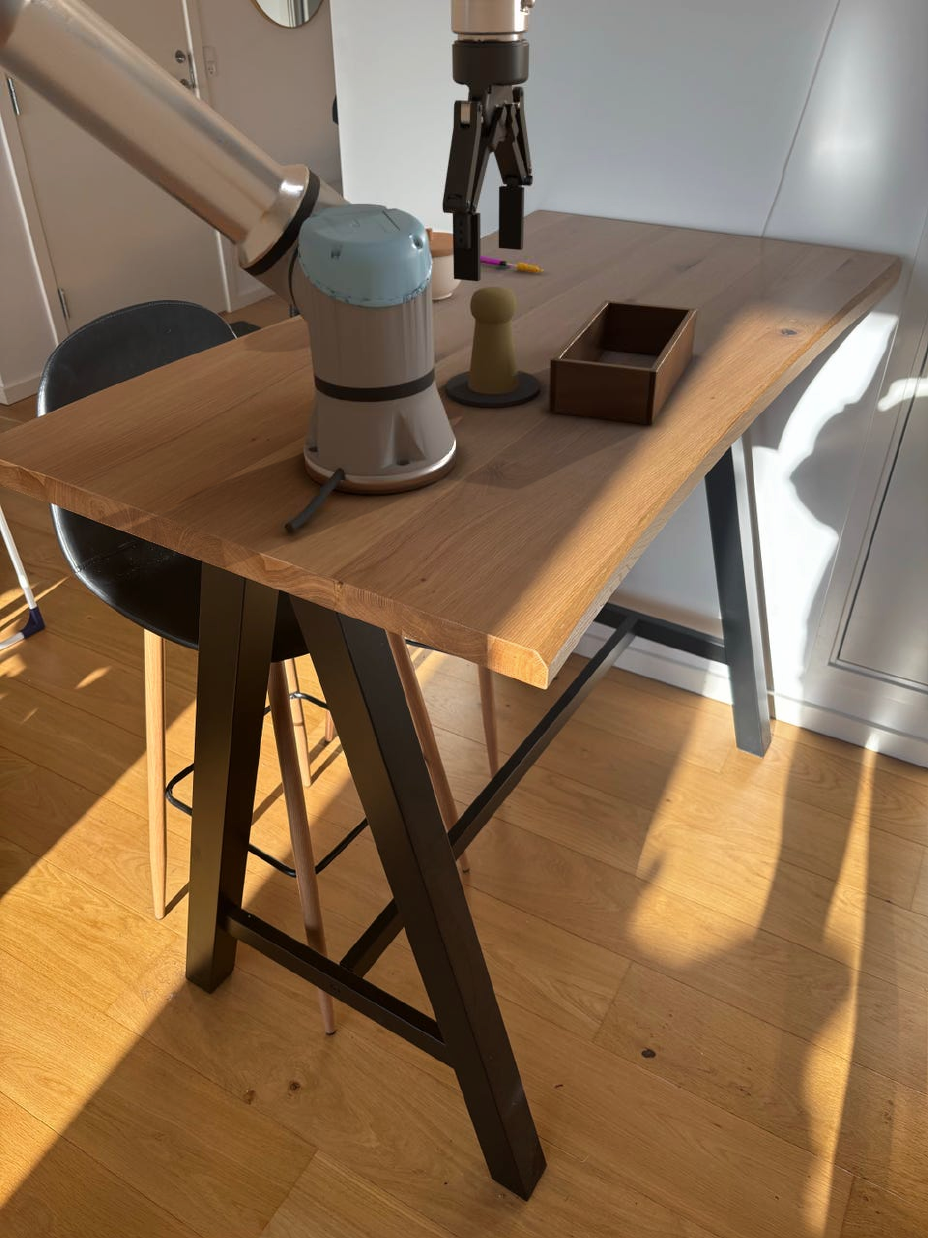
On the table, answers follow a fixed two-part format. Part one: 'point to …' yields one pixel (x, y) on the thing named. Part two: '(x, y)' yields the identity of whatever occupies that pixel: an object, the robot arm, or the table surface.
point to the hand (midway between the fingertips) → (490, 263)
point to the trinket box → (442, 264)
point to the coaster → (465, 395)
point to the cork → (493, 342)
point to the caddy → (622, 387)
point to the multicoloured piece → (503, 263)
